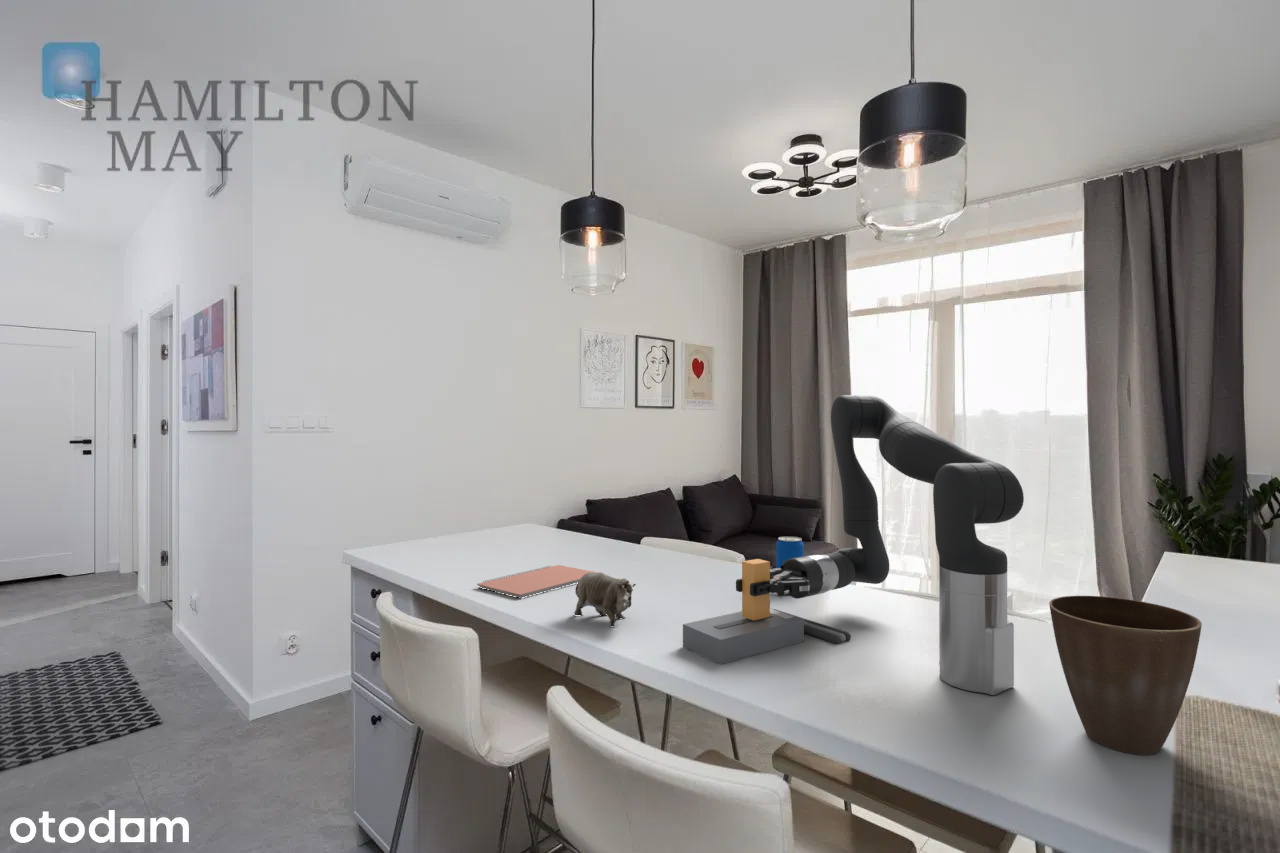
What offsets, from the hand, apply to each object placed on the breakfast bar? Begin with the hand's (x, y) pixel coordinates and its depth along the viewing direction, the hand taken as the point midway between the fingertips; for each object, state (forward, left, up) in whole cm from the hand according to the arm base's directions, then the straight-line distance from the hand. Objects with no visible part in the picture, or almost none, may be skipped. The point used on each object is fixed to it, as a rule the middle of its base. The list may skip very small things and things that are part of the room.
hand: (744, 588), depth 113 cm
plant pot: (-52, -14, -10) cm, 55 cm away
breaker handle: (0, -3, -6) cm, 6 cm away
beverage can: (+23, -37, -10) cm, 45 cm away
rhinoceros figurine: (+25, +13, -10) cm, 30 cm away
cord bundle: (0, -13, -10) cm, 16 cm away
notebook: (+62, +11, -11) cm, 64 cm away
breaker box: (0, 0, -10) cm, 10 cm away
